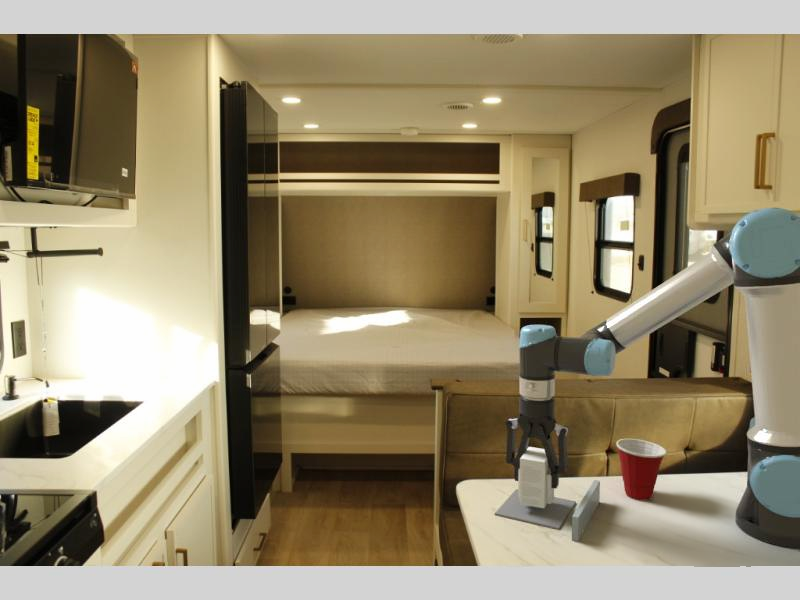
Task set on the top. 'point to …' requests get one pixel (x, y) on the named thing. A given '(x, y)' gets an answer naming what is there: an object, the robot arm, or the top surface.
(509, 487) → the top surface
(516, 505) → the mat
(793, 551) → the top surface
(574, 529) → the low wall
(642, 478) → the plastic cup
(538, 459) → the small box
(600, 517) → the top surface
